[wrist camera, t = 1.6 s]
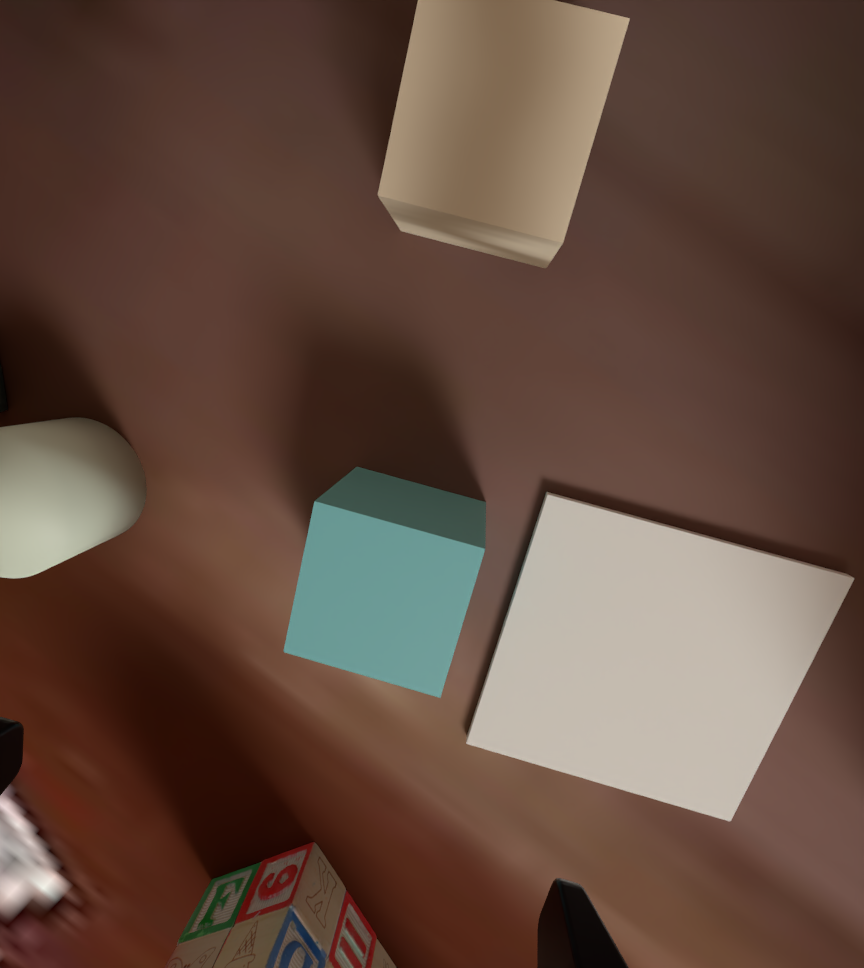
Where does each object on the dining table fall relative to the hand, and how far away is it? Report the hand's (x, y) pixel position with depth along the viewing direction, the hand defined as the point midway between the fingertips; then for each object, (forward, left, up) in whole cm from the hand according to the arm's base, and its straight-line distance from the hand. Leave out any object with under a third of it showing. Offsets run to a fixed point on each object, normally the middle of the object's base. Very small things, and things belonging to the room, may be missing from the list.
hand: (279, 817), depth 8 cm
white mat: (-10, +2, -12) cm, 16 cm away
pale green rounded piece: (+13, +1, -12) cm, 18 cm away
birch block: (0, -14, -12) cm, 18 cm away
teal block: (0, 0, -12) cm, 12 cm away
